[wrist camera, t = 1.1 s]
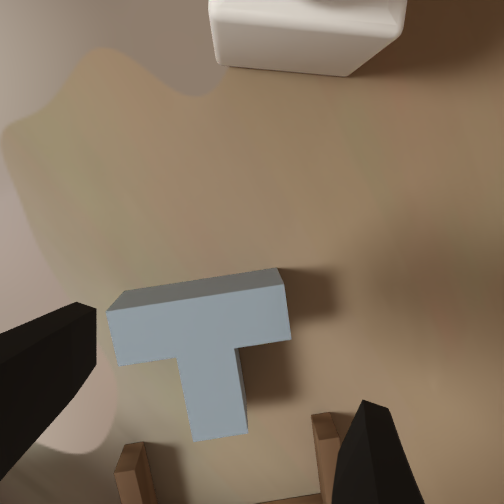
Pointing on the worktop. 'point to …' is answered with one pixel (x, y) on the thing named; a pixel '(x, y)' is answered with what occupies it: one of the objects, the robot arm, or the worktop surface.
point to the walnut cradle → (327, 447)
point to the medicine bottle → (303, 33)
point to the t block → (203, 339)
